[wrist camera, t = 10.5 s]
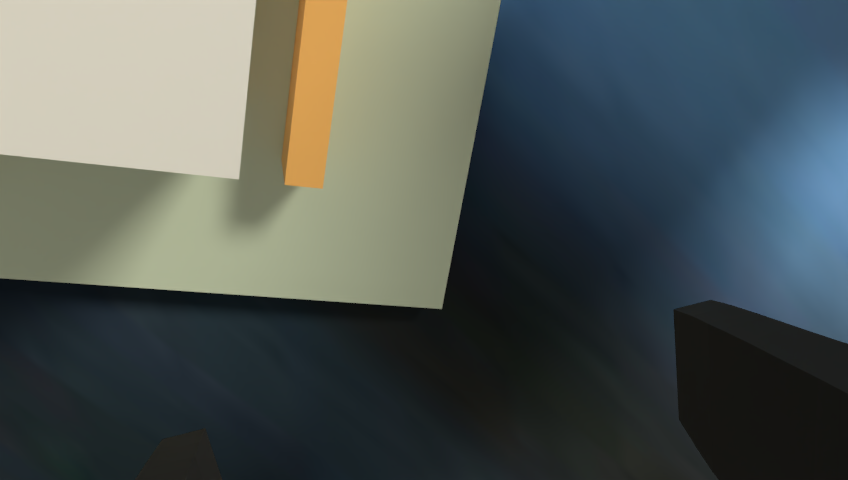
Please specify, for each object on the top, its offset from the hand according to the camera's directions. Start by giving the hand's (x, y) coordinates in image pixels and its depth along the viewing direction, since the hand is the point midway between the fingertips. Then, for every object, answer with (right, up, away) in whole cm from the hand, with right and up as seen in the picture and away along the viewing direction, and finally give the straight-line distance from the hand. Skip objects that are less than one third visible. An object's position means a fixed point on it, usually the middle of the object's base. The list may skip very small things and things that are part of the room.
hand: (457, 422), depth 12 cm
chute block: (-6, +8, +5) cm, 11 cm away
